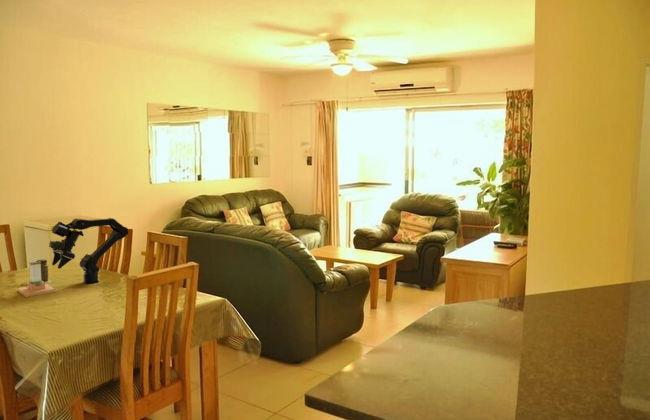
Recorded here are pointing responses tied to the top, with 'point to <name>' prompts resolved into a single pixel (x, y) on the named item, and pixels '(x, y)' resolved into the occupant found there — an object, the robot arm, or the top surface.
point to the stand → (36, 289)
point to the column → (35, 272)
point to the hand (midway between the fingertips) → (55, 266)
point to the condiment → (44, 271)
